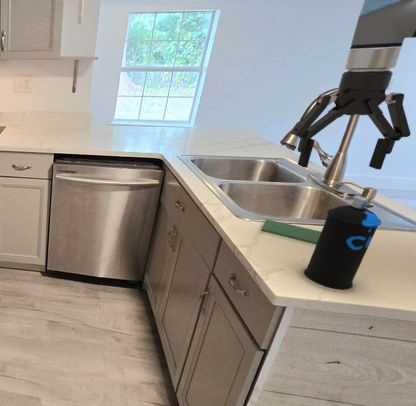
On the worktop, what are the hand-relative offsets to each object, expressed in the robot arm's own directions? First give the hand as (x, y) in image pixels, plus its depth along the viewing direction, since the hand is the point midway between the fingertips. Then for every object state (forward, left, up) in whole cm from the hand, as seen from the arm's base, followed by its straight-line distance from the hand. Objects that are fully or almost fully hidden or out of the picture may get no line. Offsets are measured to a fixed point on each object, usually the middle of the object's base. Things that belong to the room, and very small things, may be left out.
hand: (337, 167), depth 85 cm
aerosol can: (-5, +12, -23) cm, 26 cm away
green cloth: (+3, -11, -23) cm, 26 cm away
